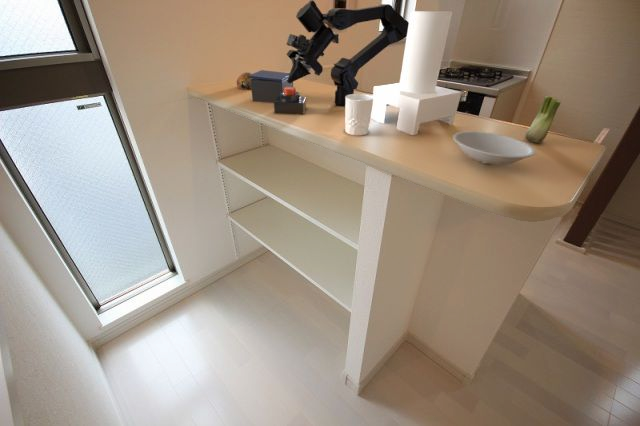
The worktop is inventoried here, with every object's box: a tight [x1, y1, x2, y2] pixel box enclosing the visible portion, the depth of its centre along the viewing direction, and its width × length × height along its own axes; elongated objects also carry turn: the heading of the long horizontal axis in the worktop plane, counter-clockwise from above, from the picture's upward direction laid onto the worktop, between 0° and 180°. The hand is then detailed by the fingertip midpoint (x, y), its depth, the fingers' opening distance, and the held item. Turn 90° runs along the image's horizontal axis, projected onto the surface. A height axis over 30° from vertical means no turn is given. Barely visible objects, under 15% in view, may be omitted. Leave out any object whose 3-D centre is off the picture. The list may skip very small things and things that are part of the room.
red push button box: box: [273, 91, 307, 115], centre depth 105 cm, size 10×8×6 cm
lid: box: [248, 69, 290, 82], centre depth 115 cm, size 13×13×1 cm
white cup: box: [344, 93, 374, 137], centre depth 87 cm, size 8×8×10 cm
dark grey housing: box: [250, 79, 294, 104], centre depth 118 cm, size 13×13×8 cm
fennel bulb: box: [524, 95, 561, 144], centre depth 81 cm, size 6×5×12 cm
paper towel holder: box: [370, 10, 462, 136], centre depth 90 cm, size 19×19×30 cm
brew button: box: [284, 86, 297, 95], centre depth 102 cm, size 4×4×2 cm
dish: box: [452, 130, 536, 165], centre depth 71 cm, size 18×14×5 cm
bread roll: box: [236, 71, 253, 91], centre depth 135 cm, size 10×10×8 cm
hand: (287, 82), depth 101 cm, fingers closed
